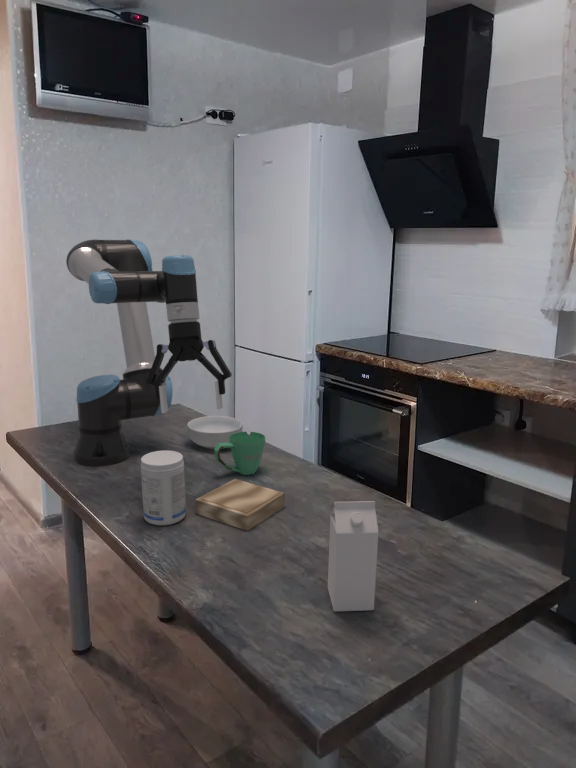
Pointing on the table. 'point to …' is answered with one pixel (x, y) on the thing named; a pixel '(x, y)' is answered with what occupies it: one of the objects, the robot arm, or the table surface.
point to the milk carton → (353, 556)
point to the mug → (243, 452)
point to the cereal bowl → (213, 430)
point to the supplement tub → (163, 487)
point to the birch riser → (240, 504)
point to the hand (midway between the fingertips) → (192, 410)
